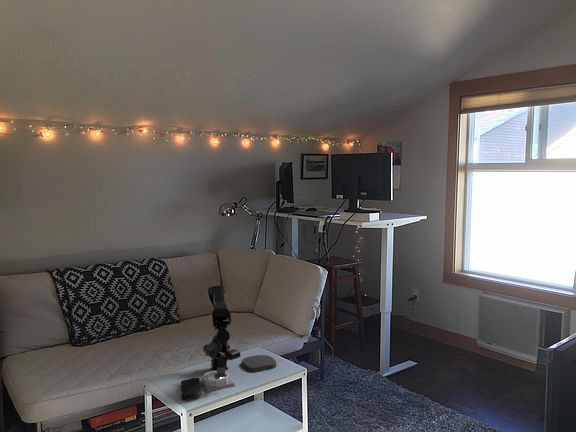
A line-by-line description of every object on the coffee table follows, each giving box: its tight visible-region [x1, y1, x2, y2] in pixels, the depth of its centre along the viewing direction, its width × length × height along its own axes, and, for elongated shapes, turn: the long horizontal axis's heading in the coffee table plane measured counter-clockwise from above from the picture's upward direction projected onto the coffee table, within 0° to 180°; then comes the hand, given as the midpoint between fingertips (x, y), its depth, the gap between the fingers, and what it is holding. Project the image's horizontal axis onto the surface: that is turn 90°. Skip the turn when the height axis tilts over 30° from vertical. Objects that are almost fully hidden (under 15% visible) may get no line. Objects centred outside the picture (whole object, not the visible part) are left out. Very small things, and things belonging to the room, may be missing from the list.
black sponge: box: [180, 377, 202, 401], centre depth 213 cm, size 16×8×4 cm, turn 13°
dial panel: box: [199, 370, 235, 393], centre depth 221 cm, size 12×12×4 cm
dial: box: [207, 367, 226, 380], centre depth 221 cm, size 8×8×6 cm
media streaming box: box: [241, 354, 277, 373], centre depth 242 cm, size 15×15×3 cm
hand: (222, 369), depth 223 cm, fingers closed
